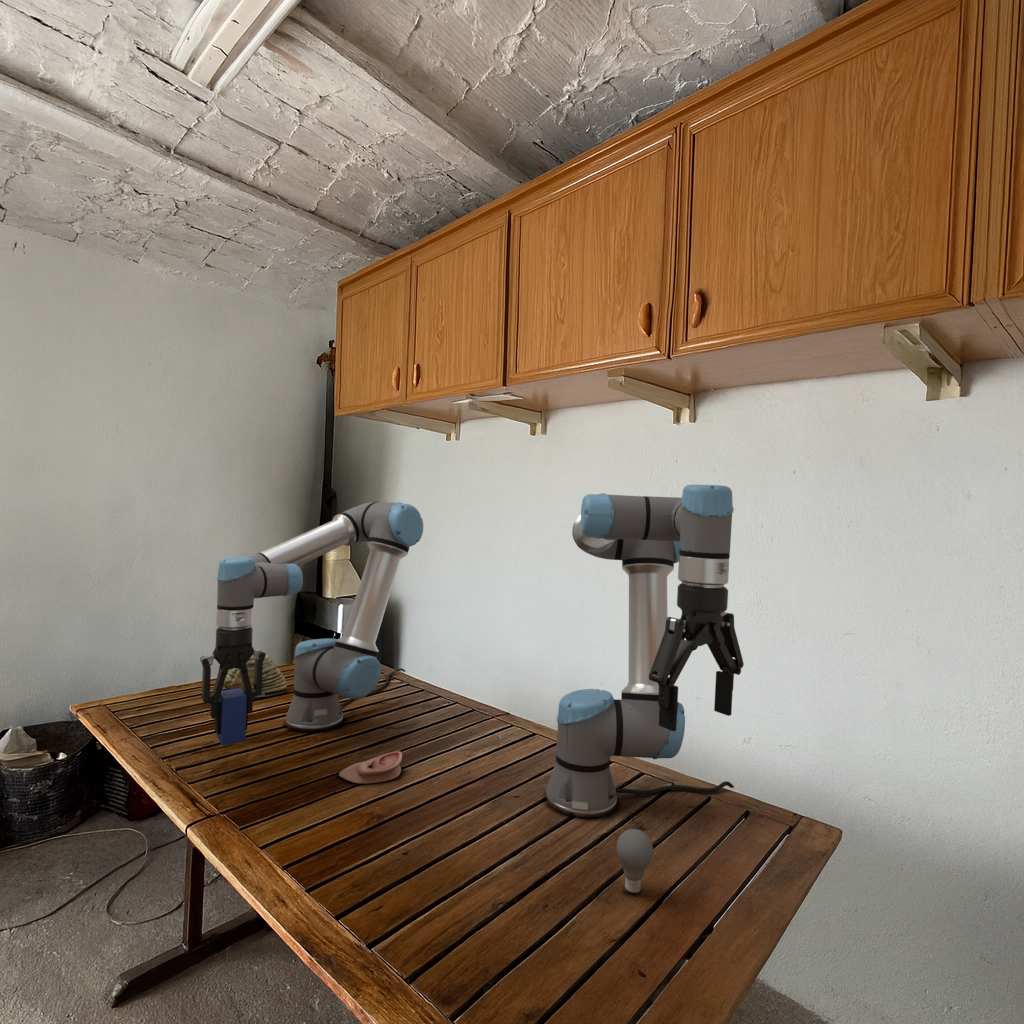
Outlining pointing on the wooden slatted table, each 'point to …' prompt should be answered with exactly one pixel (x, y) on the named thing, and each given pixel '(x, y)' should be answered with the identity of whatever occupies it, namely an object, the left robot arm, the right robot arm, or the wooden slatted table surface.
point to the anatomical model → (374, 769)
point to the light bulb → (634, 857)
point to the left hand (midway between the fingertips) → (231, 729)
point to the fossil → (270, 677)
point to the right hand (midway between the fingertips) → (696, 720)
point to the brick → (233, 716)
